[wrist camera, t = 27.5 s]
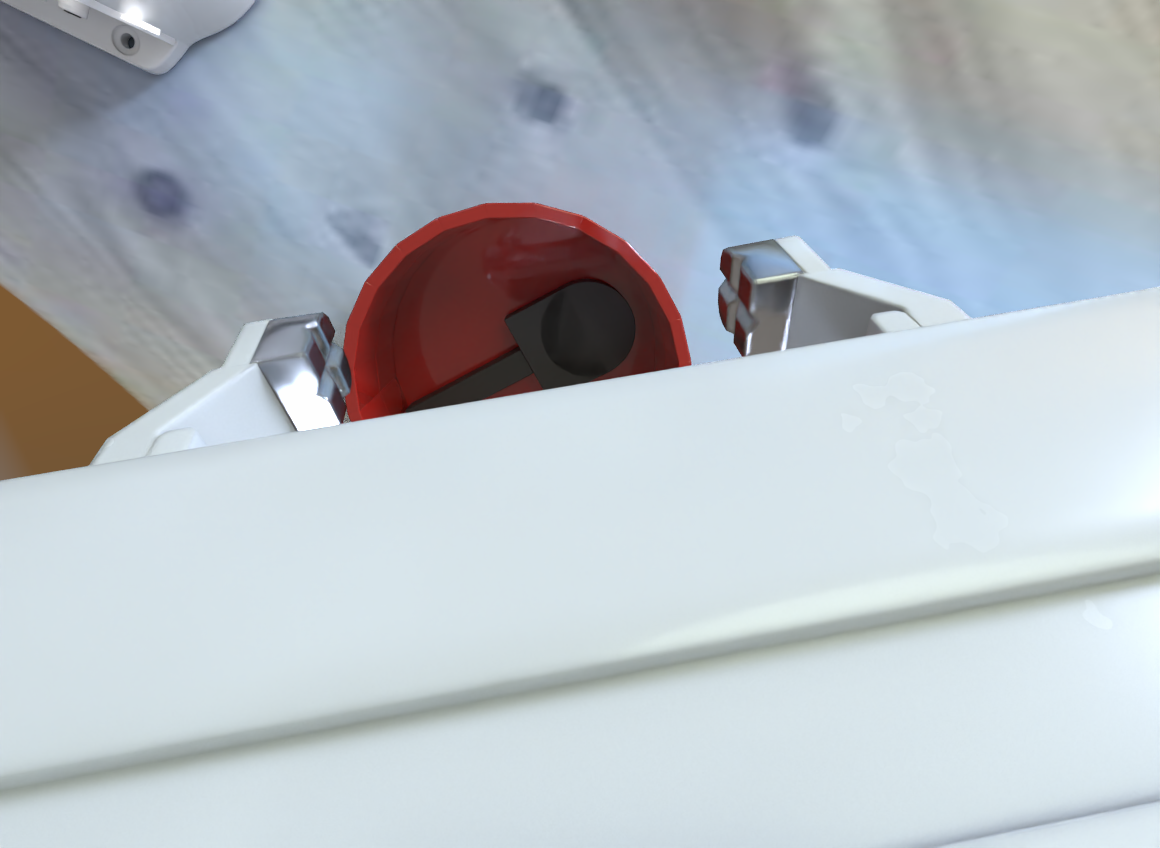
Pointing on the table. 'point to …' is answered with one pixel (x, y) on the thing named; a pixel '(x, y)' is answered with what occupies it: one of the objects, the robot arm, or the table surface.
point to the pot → (490, 301)
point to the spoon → (551, 344)
